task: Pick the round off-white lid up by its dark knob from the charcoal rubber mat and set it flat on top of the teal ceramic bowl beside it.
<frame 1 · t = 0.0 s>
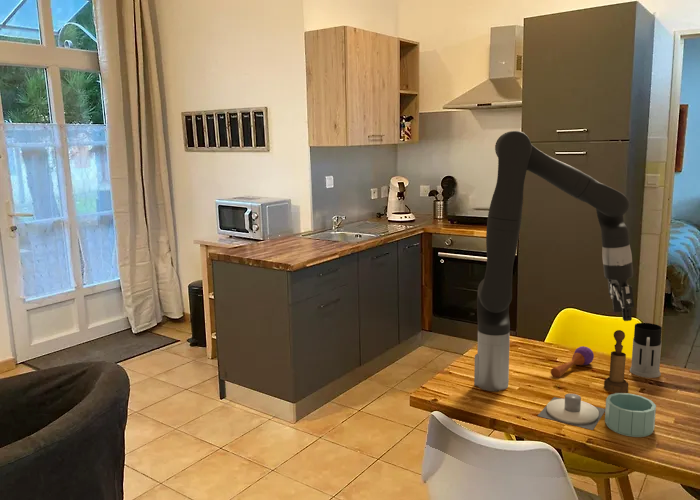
hand: (622, 316, 165), 22 cm above the table, tool pointing down, fingers open, 8 cm apart
lid: (572, 412, 154), resting on mat
mat: (572, 414, 154), on the table
bowl: (629, 428, 146), on the table
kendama: (572, 370, 185), on the table
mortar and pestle: (615, 390, 169), on the table
glass holder: (645, 375, 179), on the table
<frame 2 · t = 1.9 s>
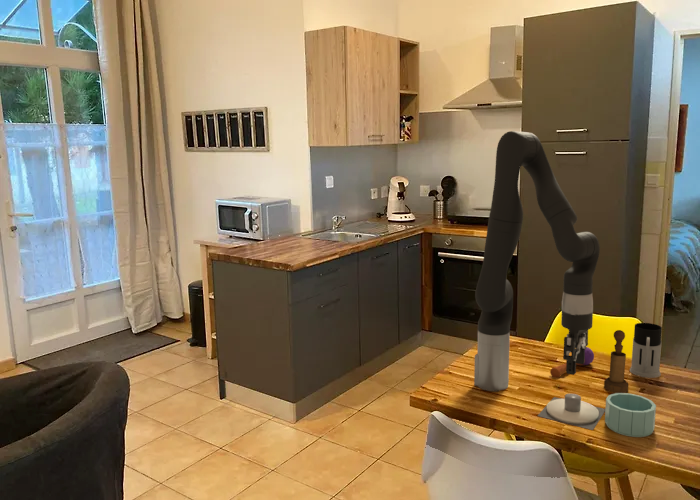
hand: (575, 368, 152), 13 cm above the table, tool pointing down, fingers open, 8 cm apart
nothing on the table moved.
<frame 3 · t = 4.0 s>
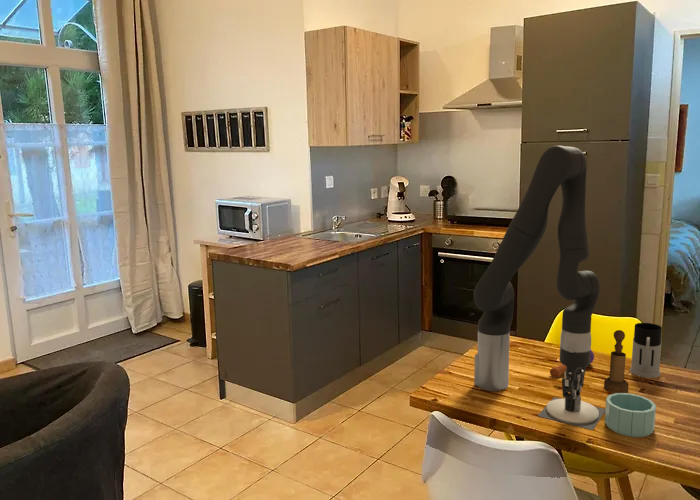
hand: (572, 407, 154), 2 cm above the table, tool pointing down, fingers closed on lid, 4 cm apart
lid: (572, 412, 154), point 1 cm above the table, touching gripper, mat
everything else where it was.
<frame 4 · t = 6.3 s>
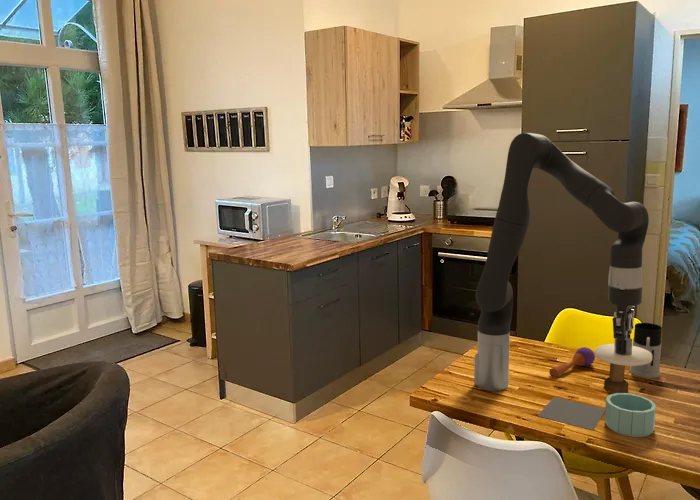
hand: (623, 350, 144), 20 cm above the table, tool pointing down, fingers closed on lid, 4 cm apart
lid: (622, 356, 144), point 19 cm above the table, touching gripper
everything else where it was.
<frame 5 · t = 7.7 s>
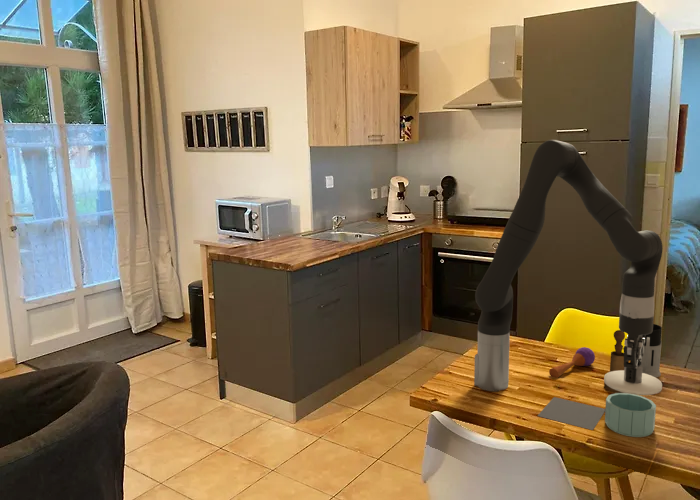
hand: (632, 378, 144), 13 cm above the table, tool pointing down, fingers closed on lid, 4 cm apart
lid: (632, 384, 144), point 12 cm above the table, touching gripper
everything else where it was.
when the fingers open (10 cm above the table, at t = 8.7 s): lid drops 1 cm, resting on bowl.
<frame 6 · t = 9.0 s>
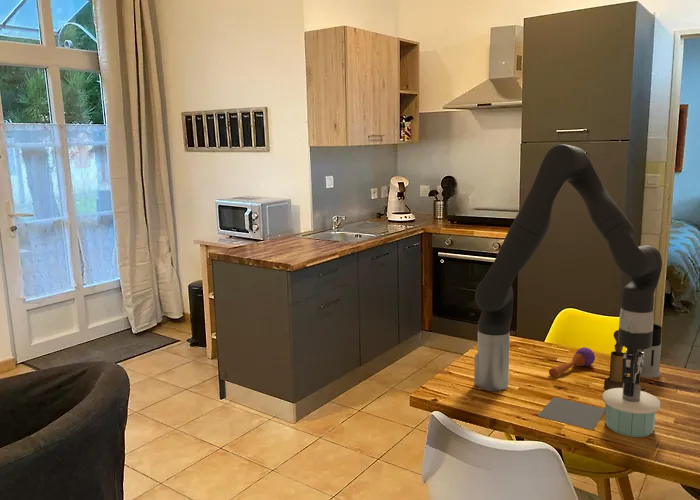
hand: (631, 390, 144), 10 cm above the table, tool pointing down, fingers open, 6 cm apart
lid: (630, 402, 145), point 7 cm above the table, touching bowl
everything else where it was.
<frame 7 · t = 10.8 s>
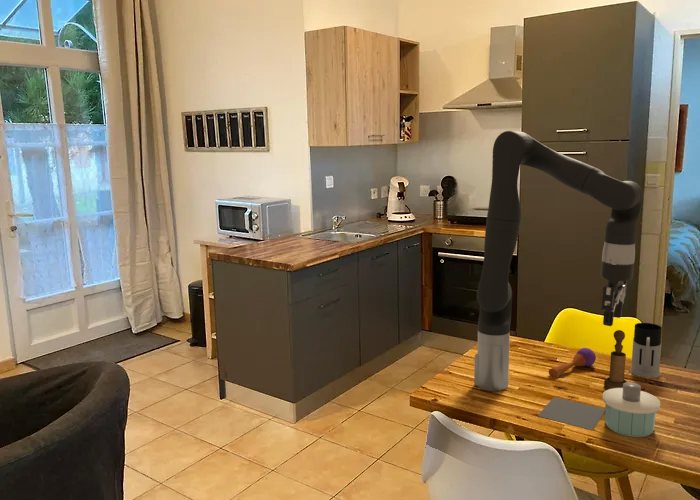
hand: (612, 321, 150), 26 cm above the table, tool pointing down, fingers open, 8 cm apart
nothing on the table moved.
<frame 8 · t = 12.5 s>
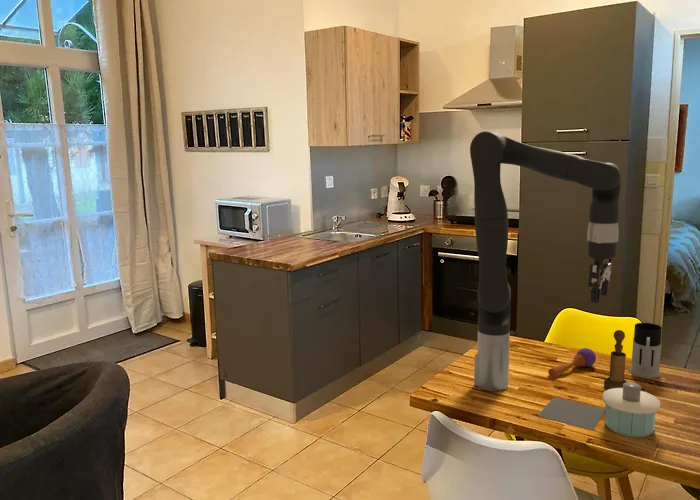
hand: (599, 298, 155), 30 cm above the table, tool pointing down, fingers open, 8 cm apart
at the end: lid 0.0 cm off-centre on the bowl, point 7.0 cm above the bowl's base; lid tilted 0°; the gripper is holding nothing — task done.
